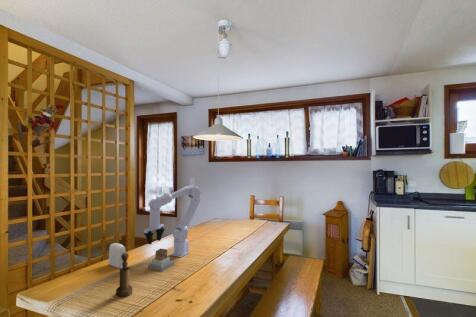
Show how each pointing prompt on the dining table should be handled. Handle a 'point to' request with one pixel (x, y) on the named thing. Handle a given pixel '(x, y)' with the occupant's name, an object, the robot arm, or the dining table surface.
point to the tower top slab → (160, 261)
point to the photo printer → (116, 255)
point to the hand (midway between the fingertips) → (154, 242)
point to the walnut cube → (161, 254)
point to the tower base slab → (161, 268)
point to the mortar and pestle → (124, 279)
